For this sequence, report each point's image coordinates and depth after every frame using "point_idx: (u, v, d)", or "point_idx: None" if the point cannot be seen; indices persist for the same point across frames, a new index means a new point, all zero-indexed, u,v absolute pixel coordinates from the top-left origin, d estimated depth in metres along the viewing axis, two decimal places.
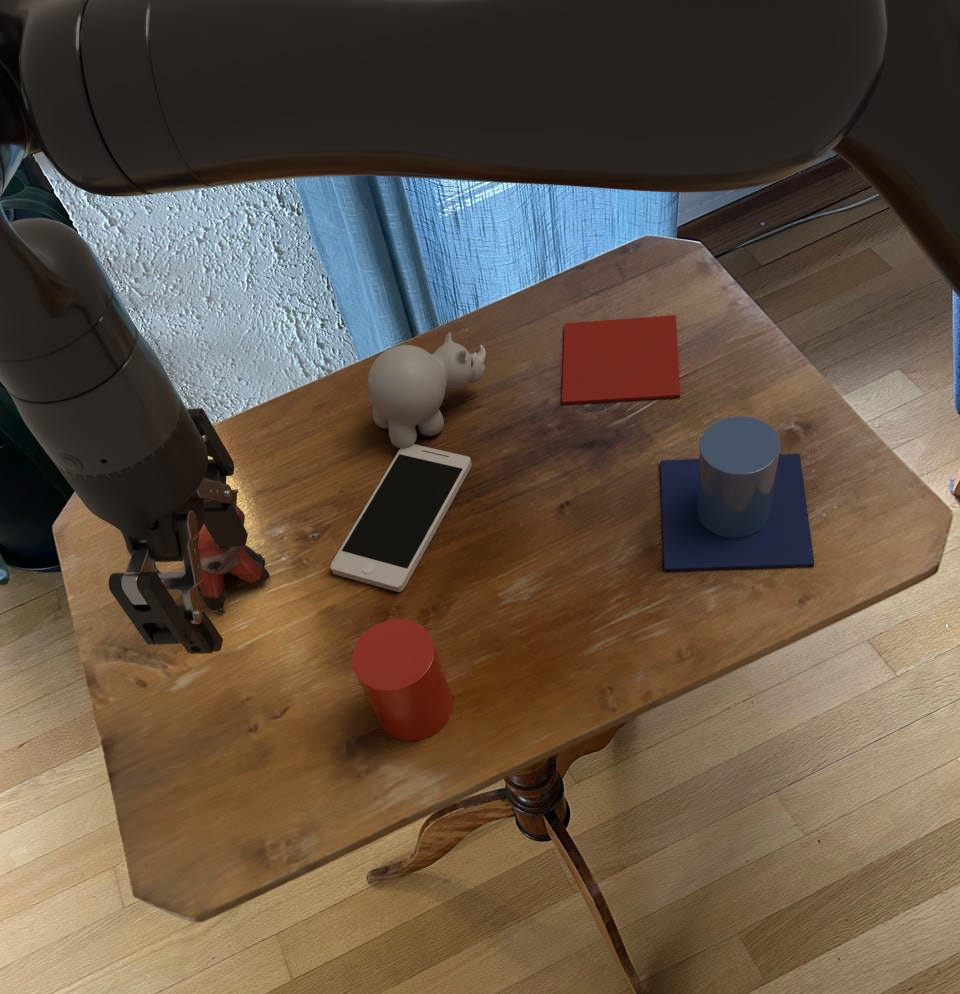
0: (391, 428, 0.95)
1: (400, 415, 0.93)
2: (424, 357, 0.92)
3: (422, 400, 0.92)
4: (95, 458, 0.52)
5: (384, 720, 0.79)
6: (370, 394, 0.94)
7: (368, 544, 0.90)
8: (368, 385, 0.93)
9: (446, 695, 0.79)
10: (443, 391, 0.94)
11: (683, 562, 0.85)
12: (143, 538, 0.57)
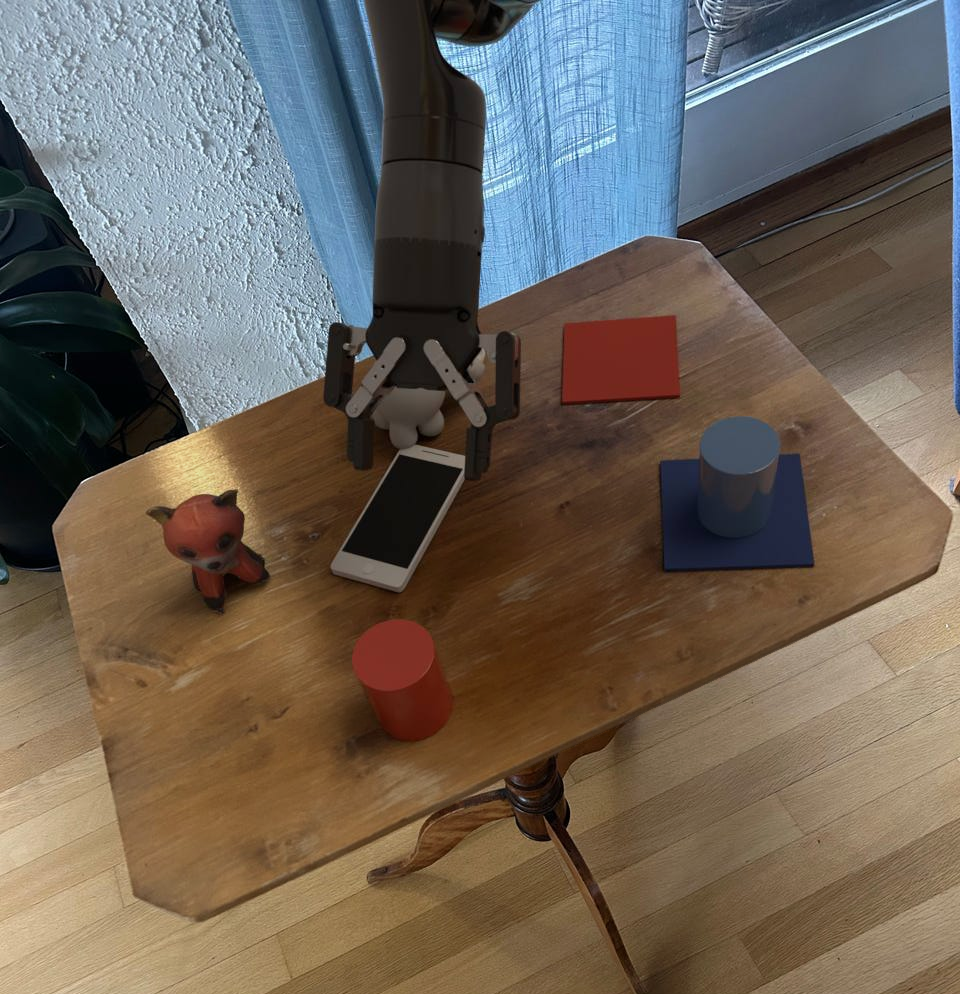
0: (392, 429, 0.95)
1: (401, 415, 0.93)
2: None
3: (422, 401, 0.92)
4: None
5: (384, 720, 0.79)
6: None
7: (368, 545, 0.90)
8: None
9: (446, 695, 0.79)
10: (443, 391, 0.94)
11: (683, 562, 0.85)
12: None
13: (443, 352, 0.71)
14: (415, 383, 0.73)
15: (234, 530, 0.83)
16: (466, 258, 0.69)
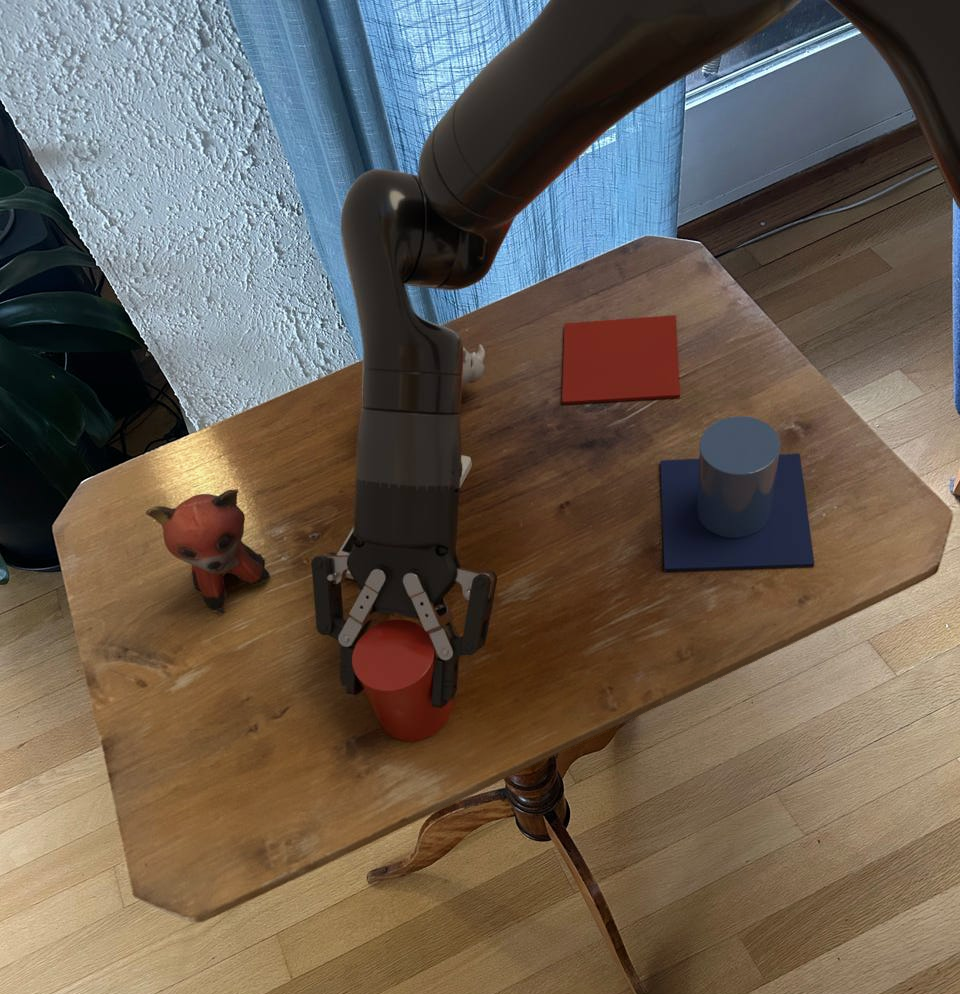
0: None
1: None
2: None
3: None
4: None
5: (384, 720, 0.79)
6: None
7: None
8: None
9: None
10: None
11: (683, 562, 0.85)
12: None
13: (421, 587, 0.73)
14: (395, 610, 0.75)
15: (234, 530, 0.83)
16: (444, 499, 0.71)
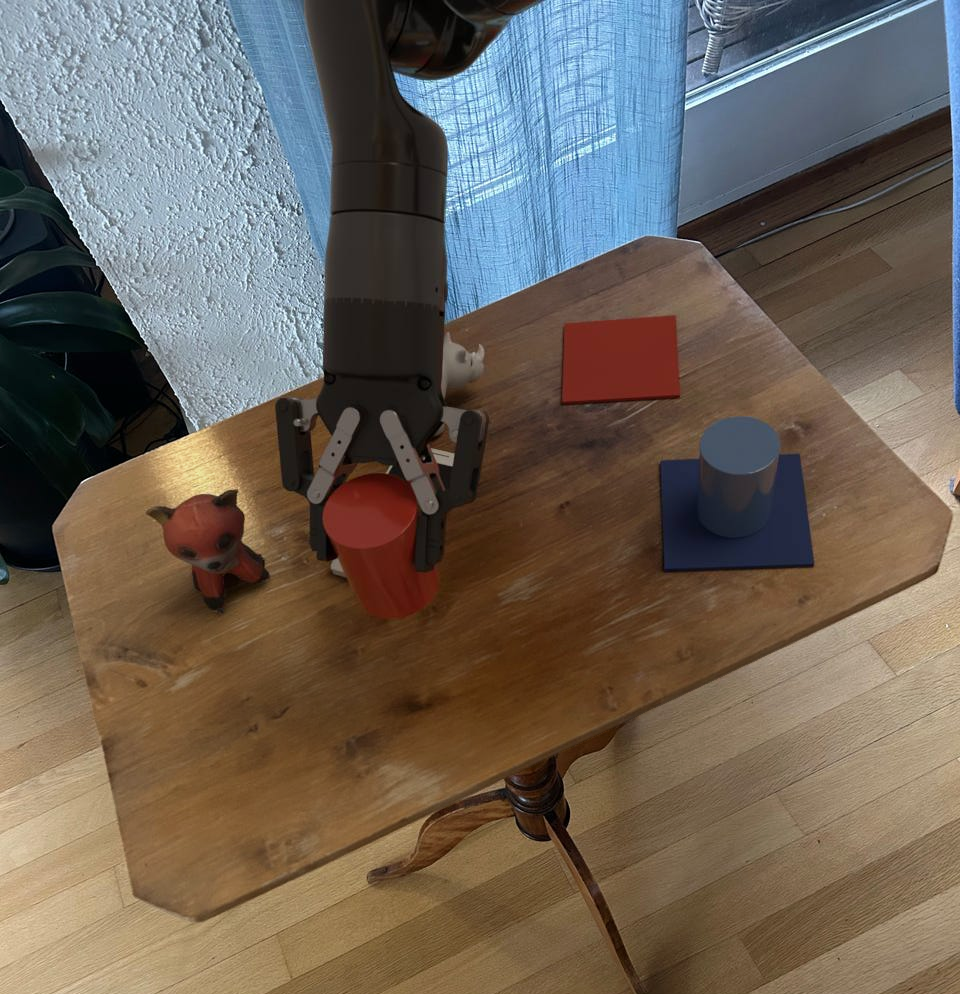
0: None
1: None
2: None
3: None
4: None
5: (361, 592, 0.69)
6: None
7: None
8: None
9: None
10: (444, 391, 0.94)
11: (683, 562, 0.85)
12: None
13: (401, 427, 0.63)
14: (372, 457, 0.65)
15: (234, 530, 0.83)
16: (426, 320, 0.61)
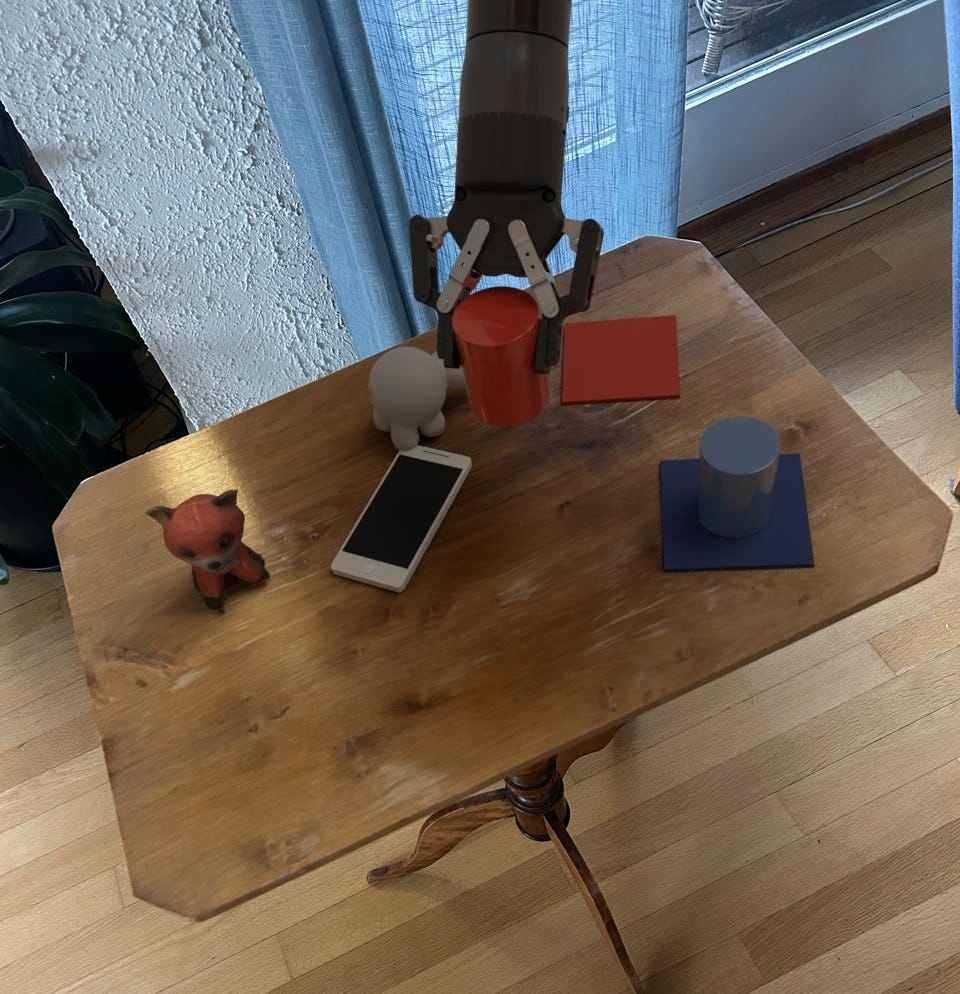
0: (394, 430, 0.95)
1: (403, 416, 0.93)
2: (425, 358, 0.92)
3: (424, 401, 0.92)
4: None
5: (482, 398, 0.76)
6: (372, 397, 0.93)
7: (368, 545, 0.90)
8: (369, 388, 0.93)
9: (545, 374, 0.76)
10: (444, 391, 0.94)
11: (683, 562, 0.85)
12: None
13: (527, 235, 0.70)
14: (498, 267, 0.72)
15: (234, 530, 0.83)
16: (553, 135, 0.69)
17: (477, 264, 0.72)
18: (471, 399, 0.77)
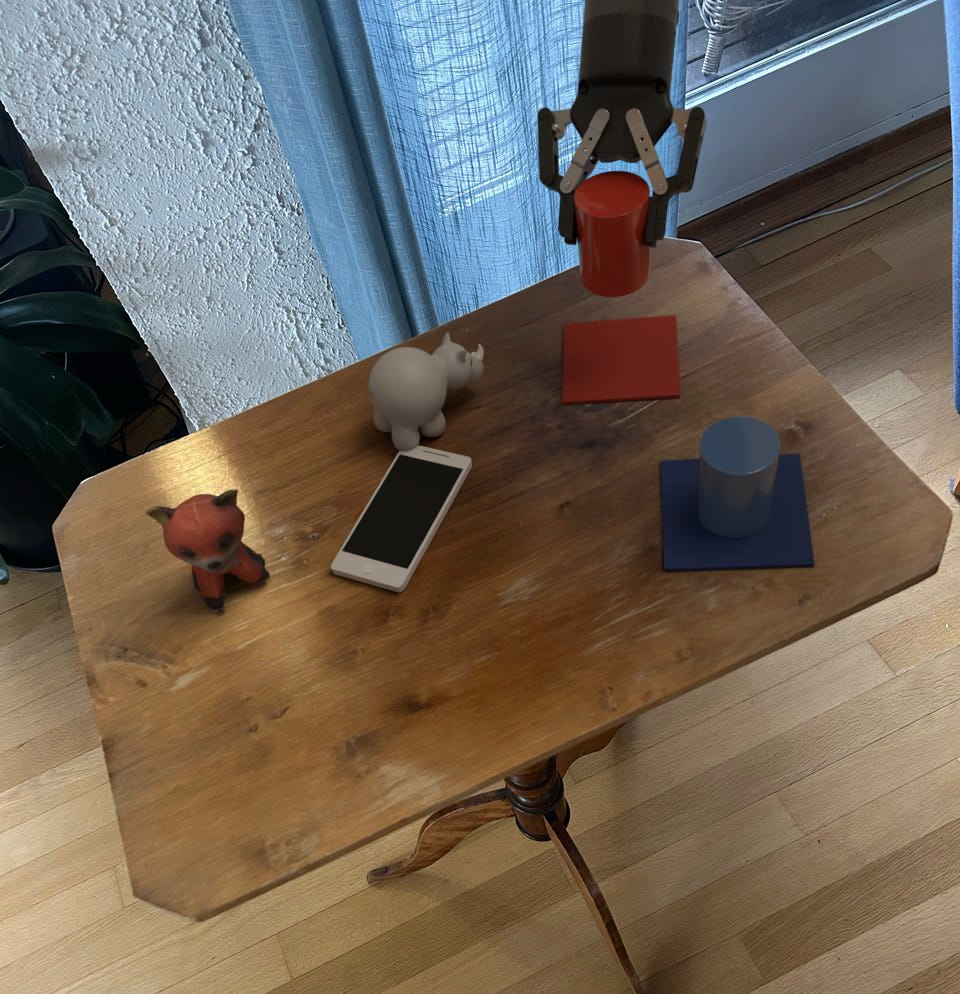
0: (394, 431, 0.95)
1: (404, 417, 0.93)
2: (425, 358, 0.92)
3: (425, 401, 0.92)
4: None
5: (595, 270, 0.88)
6: (372, 398, 0.93)
7: (368, 545, 0.90)
8: (370, 389, 0.93)
9: (650, 250, 0.88)
10: (445, 391, 0.94)
11: (683, 562, 0.85)
12: None
13: (642, 121, 0.82)
14: (614, 152, 0.84)
15: (234, 530, 0.83)
16: (667, 34, 0.80)
17: (596, 149, 0.84)
18: (584, 273, 0.89)
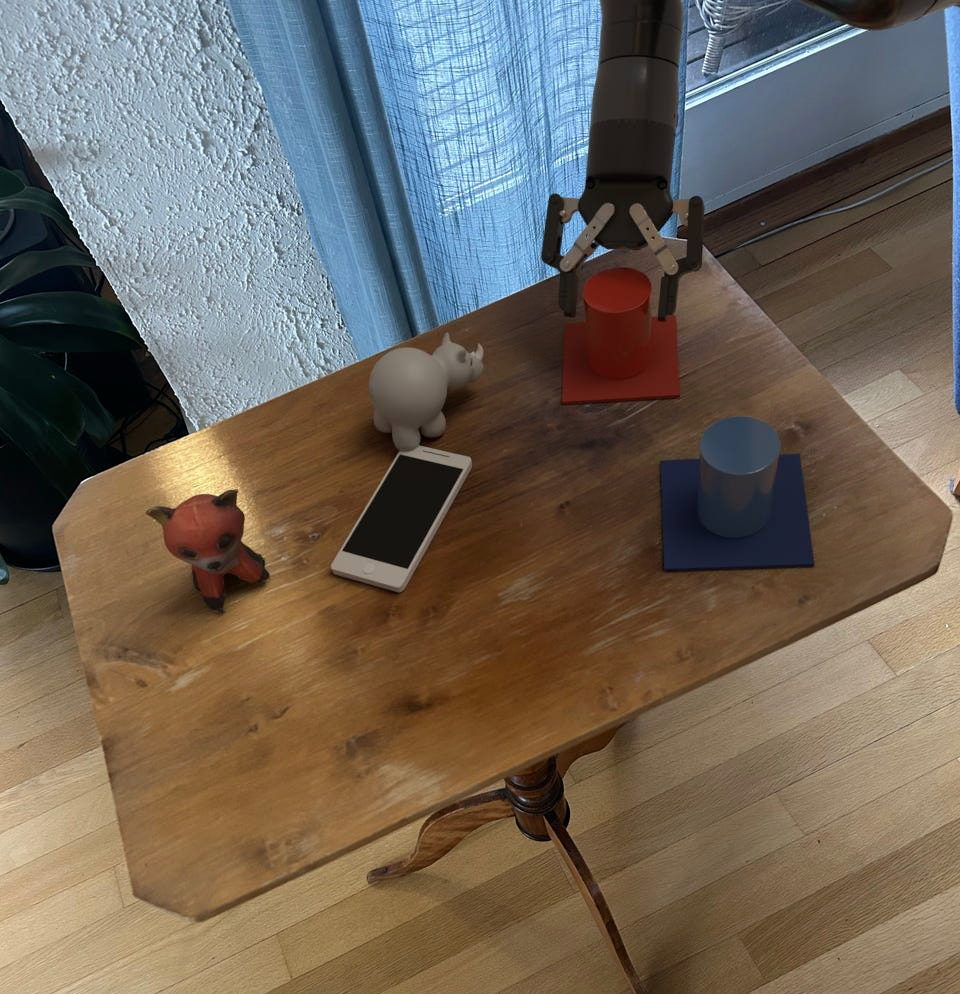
0: (395, 431, 0.95)
1: (405, 417, 0.93)
2: (425, 358, 0.92)
3: (426, 401, 0.92)
4: None
5: (602, 356, 0.96)
6: (373, 398, 0.93)
7: (368, 545, 0.90)
8: (370, 389, 0.93)
9: None
10: (445, 391, 0.94)
11: (683, 562, 0.85)
12: None
13: (646, 213, 0.89)
14: (619, 241, 0.91)
15: (234, 530, 0.83)
16: (667, 136, 0.88)
17: (602, 239, 0.91)
18: (592, 357, 0.97)
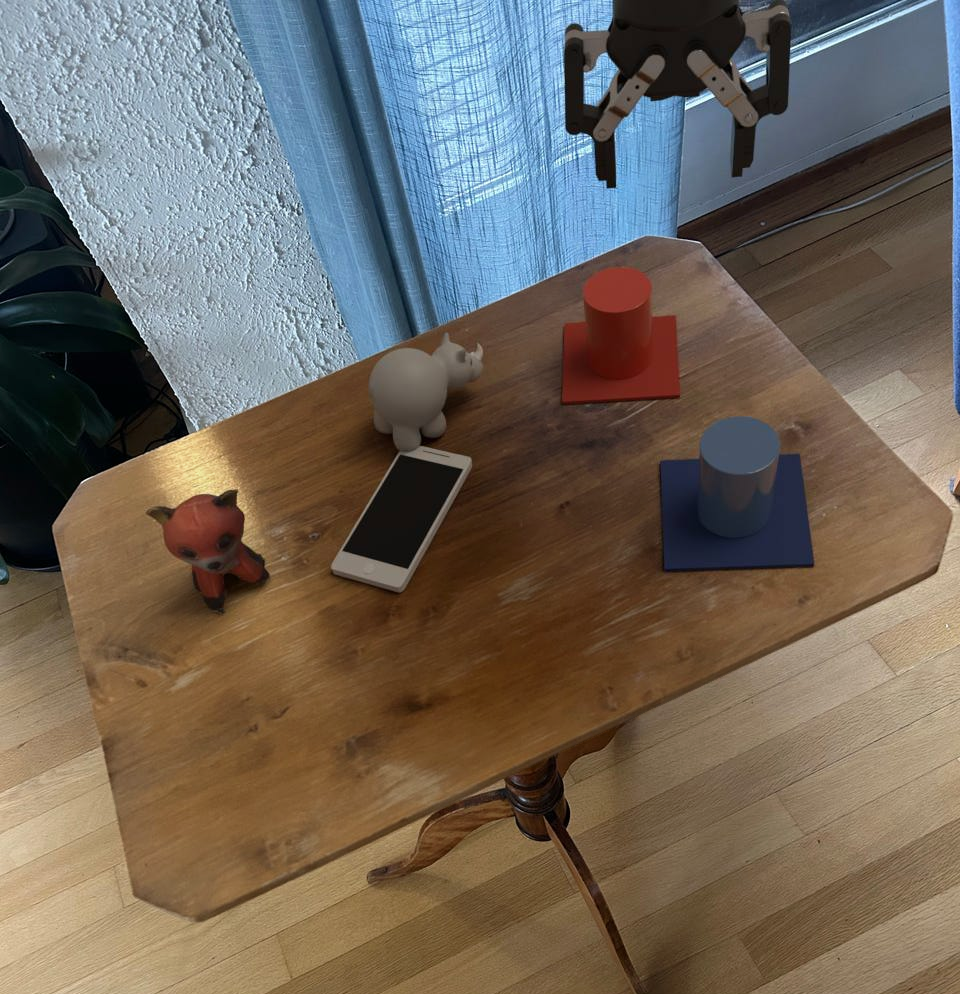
0: (396, 432, 0.94)
1: (406, 418, 0.93)
2: (425, 358, 0.92)
3: (426, 402, 0.92)
4: None
5: (602, 356, 0.96)
6: (373, 399, 0.93)
7: (369, 545, 0.90)
8: (371, 390, 0.93)
9: None
10: (446, 391, 0.94)
11: (683, 562, 0.85)
12: None
13: (711, 62, 0.63)
14: (673, 93, 0.66)
15: (234, 530, 0.83)
16: None
17: (649, 93, 0.66)
18: (592, 357, 0.97)
